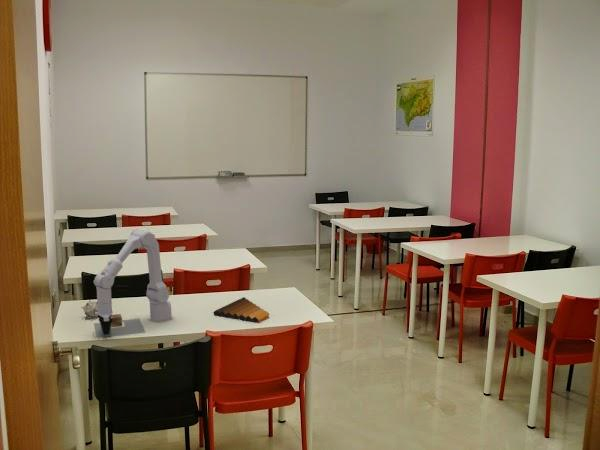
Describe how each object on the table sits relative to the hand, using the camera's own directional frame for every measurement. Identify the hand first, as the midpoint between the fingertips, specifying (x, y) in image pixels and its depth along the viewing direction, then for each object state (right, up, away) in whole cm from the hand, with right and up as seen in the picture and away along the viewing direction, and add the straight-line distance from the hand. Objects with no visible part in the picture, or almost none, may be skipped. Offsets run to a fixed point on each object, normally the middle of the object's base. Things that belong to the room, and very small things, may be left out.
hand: (105, 332), depth 257 cm
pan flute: (+59, +3, +35) cm, 68 cm away
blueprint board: (+3, 0, +8) cm, 9 cm away
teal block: (0, -1, 0) cm, 1 cm away
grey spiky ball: (-14, +2, +24) cm, 28 cm away
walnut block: (+1, +1, +11) cm, 11 cm away
